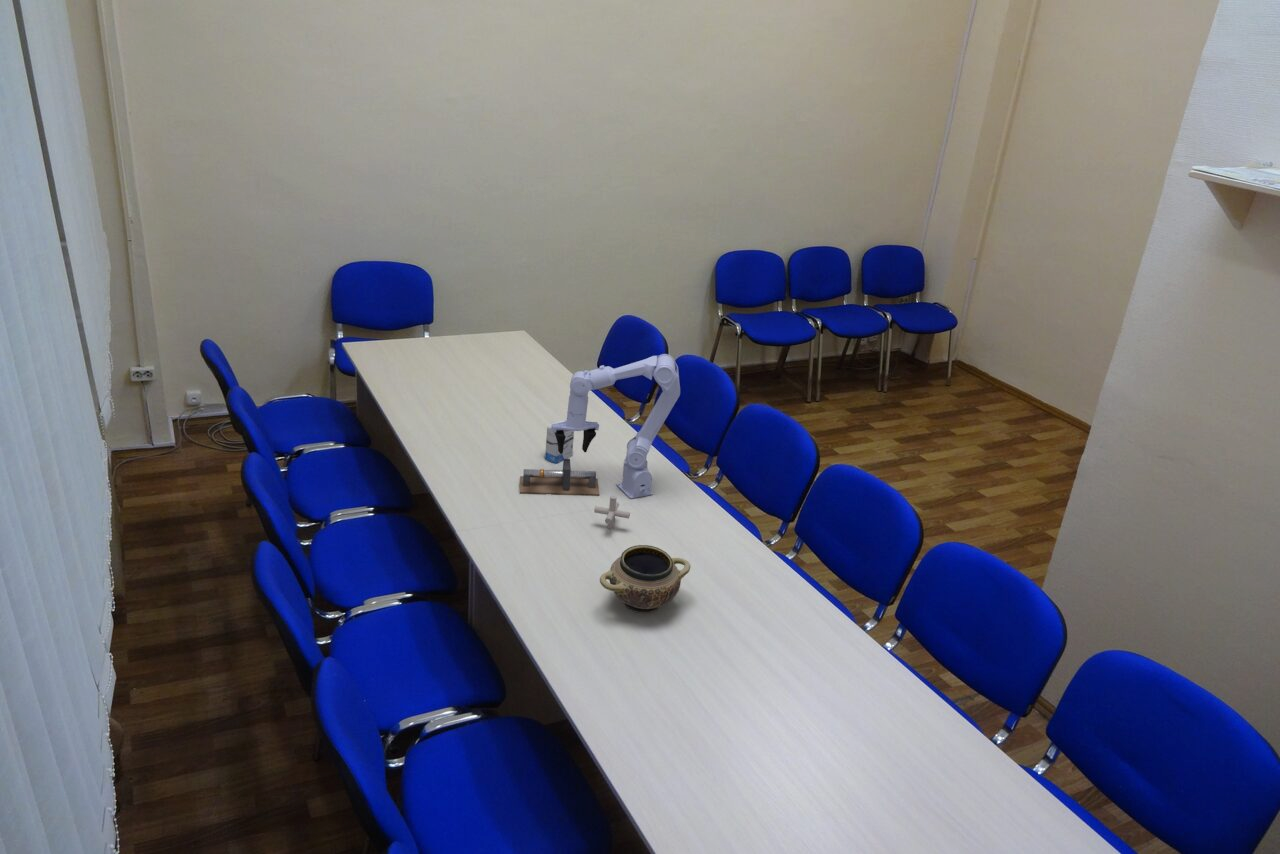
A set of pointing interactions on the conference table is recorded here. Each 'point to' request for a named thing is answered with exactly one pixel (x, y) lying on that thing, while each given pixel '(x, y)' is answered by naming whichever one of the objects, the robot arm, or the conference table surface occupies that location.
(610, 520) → the pipe connector
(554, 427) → the robot arm
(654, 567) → the ceramic bowl
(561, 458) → the ink box
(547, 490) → the walnut board
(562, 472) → the steel pipe
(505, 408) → the conference table surface
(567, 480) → the rubber collar
